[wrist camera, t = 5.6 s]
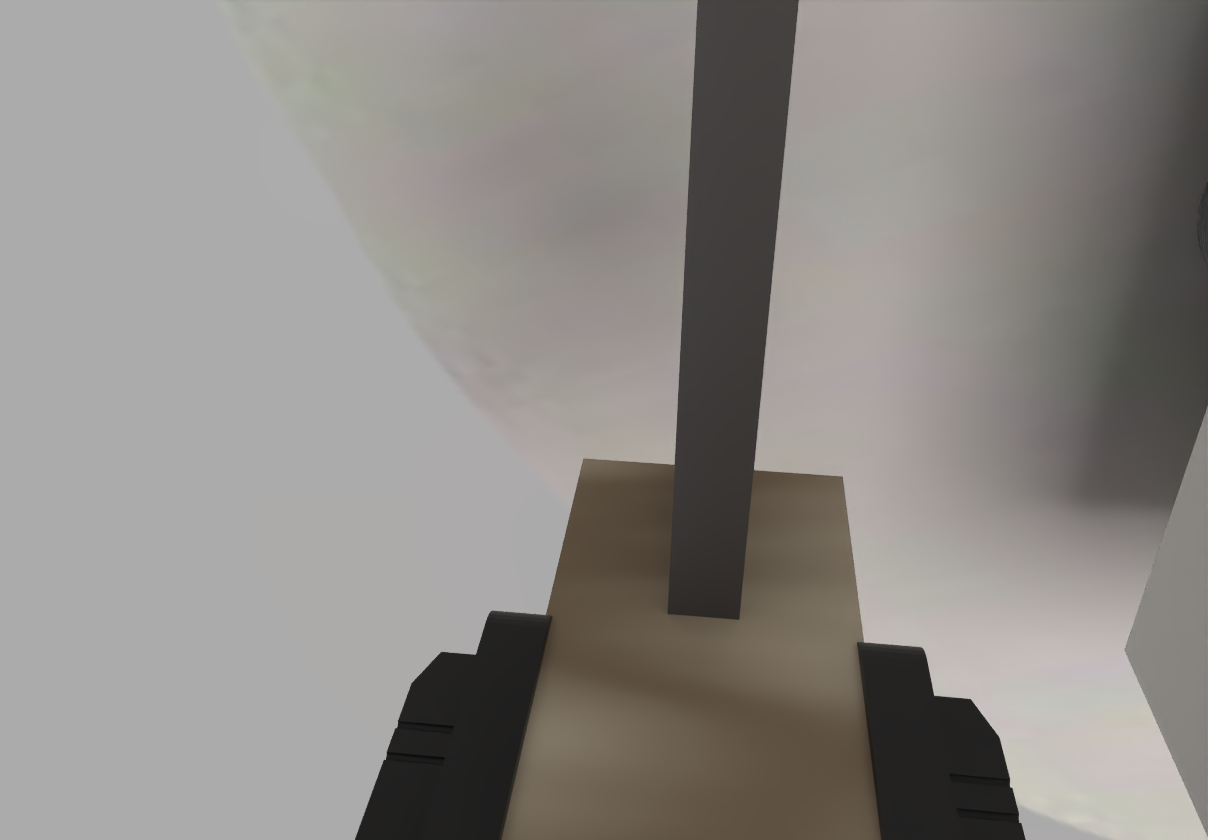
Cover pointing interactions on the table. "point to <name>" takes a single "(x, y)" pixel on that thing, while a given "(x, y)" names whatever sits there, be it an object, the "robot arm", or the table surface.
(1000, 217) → the table surface
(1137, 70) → the table surface
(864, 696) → the robot arm
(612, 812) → the blade tool
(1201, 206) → the steel puck
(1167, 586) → the cabinet
